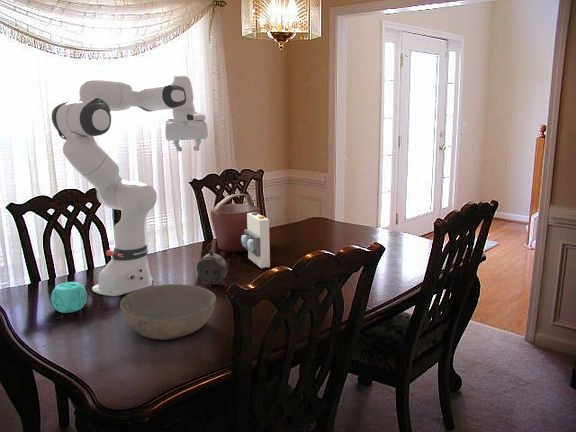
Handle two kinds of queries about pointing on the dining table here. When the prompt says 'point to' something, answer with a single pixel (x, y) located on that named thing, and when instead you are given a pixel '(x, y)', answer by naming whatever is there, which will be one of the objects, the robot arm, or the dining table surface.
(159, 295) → the bowl
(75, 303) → the decorative dice
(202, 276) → the alarm clock
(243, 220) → the bucket
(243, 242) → the button unlit
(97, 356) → the dining table surface
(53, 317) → the dining table surface
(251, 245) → the button lit
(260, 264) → the button panel
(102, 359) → the dining table surface
